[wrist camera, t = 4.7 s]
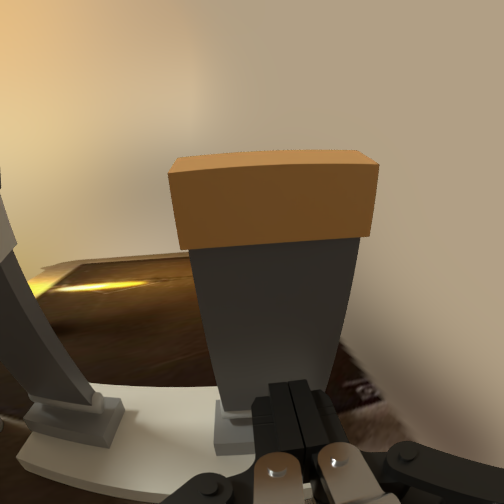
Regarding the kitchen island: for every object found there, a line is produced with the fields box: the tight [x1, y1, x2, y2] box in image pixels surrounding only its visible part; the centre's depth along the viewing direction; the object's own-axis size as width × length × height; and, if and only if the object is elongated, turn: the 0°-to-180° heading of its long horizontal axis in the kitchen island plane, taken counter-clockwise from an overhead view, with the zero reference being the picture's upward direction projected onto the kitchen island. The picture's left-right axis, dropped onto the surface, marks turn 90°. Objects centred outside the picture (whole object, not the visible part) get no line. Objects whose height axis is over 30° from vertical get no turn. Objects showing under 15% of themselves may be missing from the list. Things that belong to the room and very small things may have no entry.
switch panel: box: [16, 383, 312, 504], centre depth 17 cm, size 11×23×3 cm, turn 93°
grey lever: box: [0, 195, 104, 414], centre depth 13 cm, size 2×6×16 cm, turn 94°
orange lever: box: [168, 150, 379, 419], centre depth 13 cm, size 2×6×16 cm, turn 94°
